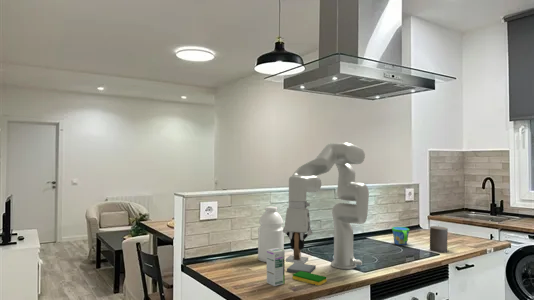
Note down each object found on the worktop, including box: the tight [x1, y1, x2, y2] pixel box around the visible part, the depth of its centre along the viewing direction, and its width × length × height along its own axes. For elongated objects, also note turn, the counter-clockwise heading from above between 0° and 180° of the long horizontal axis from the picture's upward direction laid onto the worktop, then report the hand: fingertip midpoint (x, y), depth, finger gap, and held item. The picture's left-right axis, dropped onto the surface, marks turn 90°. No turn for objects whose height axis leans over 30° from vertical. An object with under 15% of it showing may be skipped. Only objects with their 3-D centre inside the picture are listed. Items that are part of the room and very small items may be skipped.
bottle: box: [257, 205, 285, 263], centre depth 195 cm, size 14×14×28 cm
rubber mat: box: [286, 263, 317, 274], centre depth 176 cm, size 11×11×2 cm
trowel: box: [285, 232, 309, 264], centre depth 153 cm, size 8×6×13 cm
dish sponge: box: [292, 271, 328, 286], centre depth 161 cm, size 7×14×2 cm, turn 52°
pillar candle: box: [429, 225, 449, 253], centre depth 217 cm, size 10×10×15 cm
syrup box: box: [266, 248, 286, 287], centre depth 157 cm, size 6×6×14 cm
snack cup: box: [391, 226, 410, 246], centre depth 233 cm, size 16×10×10 cm
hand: (297, 248), depth 153 cm, fingers closed on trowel, 3 cm apart
